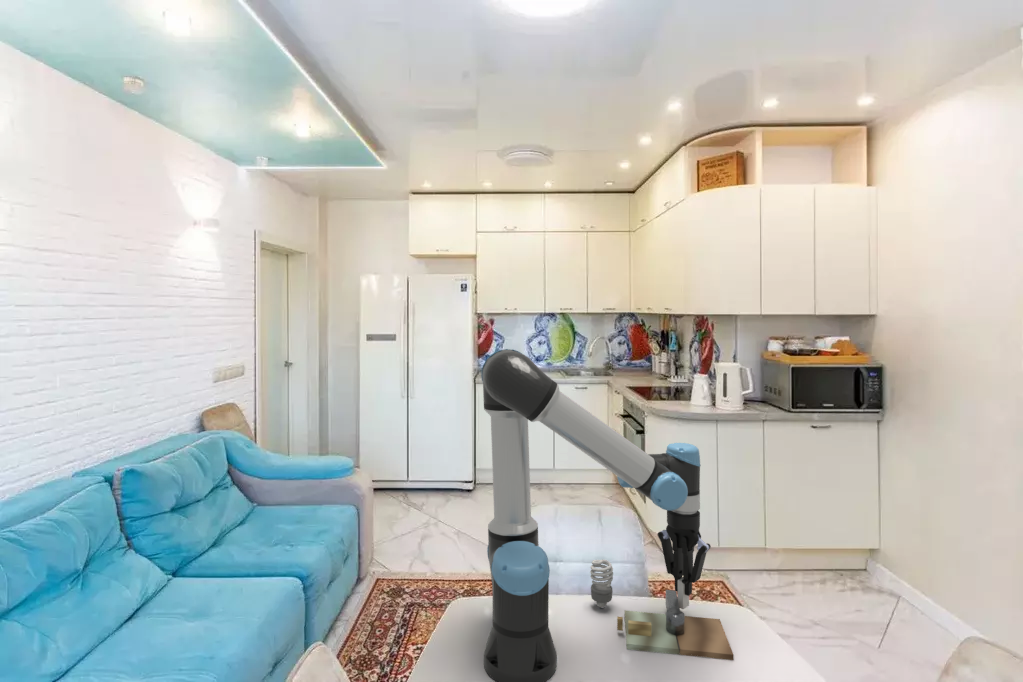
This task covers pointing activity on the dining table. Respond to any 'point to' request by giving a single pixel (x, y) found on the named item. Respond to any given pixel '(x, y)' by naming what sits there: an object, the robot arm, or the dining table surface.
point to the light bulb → (601, 590)
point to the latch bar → (674, 614)
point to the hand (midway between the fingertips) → (683, 606)
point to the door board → (695, 641)
